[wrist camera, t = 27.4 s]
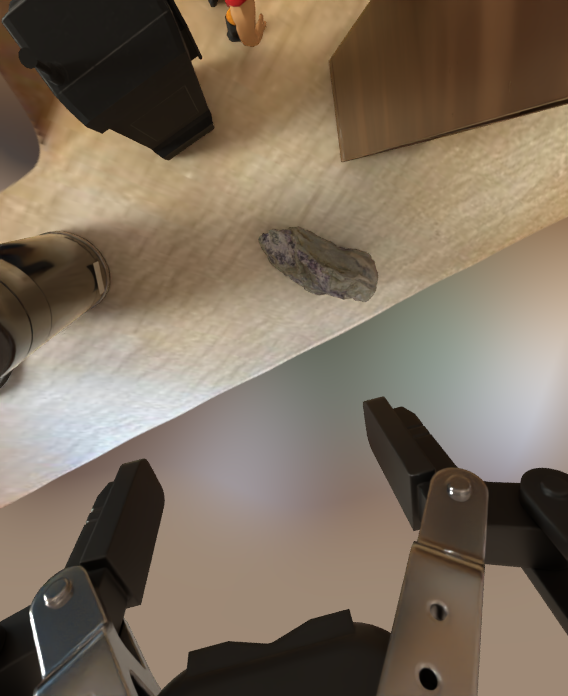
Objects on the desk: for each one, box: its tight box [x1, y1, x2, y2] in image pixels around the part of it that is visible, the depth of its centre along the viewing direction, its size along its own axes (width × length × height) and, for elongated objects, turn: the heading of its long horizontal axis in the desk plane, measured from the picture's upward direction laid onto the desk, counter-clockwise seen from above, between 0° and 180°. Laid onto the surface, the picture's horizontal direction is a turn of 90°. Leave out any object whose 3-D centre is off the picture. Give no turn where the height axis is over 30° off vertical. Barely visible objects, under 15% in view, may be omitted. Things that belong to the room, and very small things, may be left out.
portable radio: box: [2, 0, 214, 160], centre depth 24 cm, size 8×6×25 cm
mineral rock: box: [259, 227, 378, 302], centre depth 39 cm, size 13×11×10 cm
